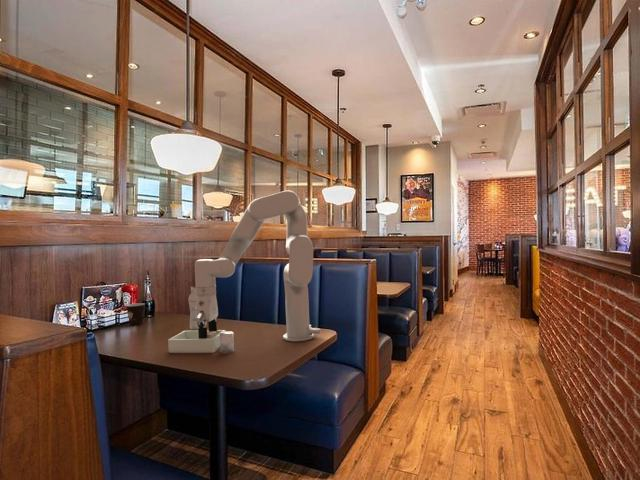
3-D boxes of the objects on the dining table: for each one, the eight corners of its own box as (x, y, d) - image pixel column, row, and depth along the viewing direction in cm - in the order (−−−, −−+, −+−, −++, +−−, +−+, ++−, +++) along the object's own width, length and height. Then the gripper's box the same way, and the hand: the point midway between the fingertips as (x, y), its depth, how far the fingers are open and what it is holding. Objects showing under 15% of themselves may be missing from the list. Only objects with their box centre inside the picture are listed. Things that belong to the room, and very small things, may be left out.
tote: (226, 342, 159) (225, 330, 159) (213, 352, 145) (213, 339, 145) (184, 342, 161) (184, 330, 161) (168, 353, 147) (168, 339, 147)
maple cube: (217, 343, 155) (216, 331, 155) (212, 347, 150) (211, 334, 150) (204, 344, 155) (204, 331, 155) (199, 347, 150) (199, 334, 150)
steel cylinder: (235, 349, 148) (235, 331, 148) (231, 353, 144) (230, 334, 143) (223, 349, 149) (222, 331, 149) (218, 353, 144) (217, 334, 144)
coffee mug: (125, 324, 200) (124, 305, 200) (142, 321, 206) (141, 302, 206) (132, 328, 191) (131, 307, 191) (150, 324, 197) (149, 304, 197)
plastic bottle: (200, 332, 178) (198, 288, 178) (186, 331, 179) (184, 288, 179) (207, 328, 184) (205, 286, 184) (194, 328, 186) (192, 286, 185)
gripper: (206, 294, 143) (208, 340, 144) (223, 287, 160) (225, 329, 161) (186, 294, 144) (189, 341, 144) (205, 288, 161) (207, 329, 162)
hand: (208, 334), depth 153 cm, fingers open, 9 cm apart
